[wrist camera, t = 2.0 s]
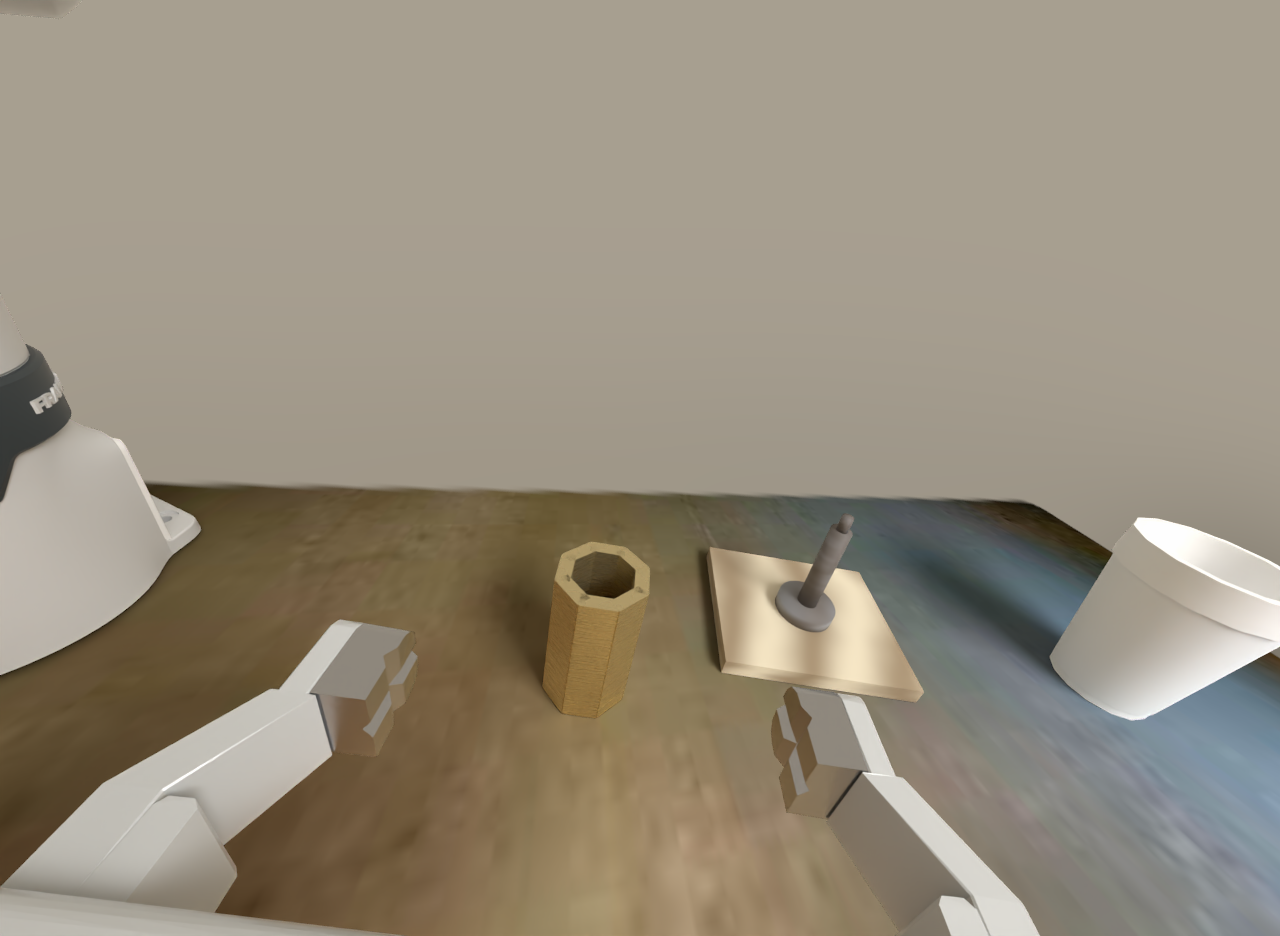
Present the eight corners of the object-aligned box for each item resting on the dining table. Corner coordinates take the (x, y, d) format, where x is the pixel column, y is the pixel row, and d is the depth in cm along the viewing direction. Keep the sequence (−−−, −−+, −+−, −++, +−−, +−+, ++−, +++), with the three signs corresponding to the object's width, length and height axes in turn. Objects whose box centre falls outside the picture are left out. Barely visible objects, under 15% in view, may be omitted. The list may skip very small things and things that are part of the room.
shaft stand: (721, 672, 31) (768, 557, 26) (706, 557, 42) (738, 458, 37) (915, 702, 32) (998, 595, 27) (853, 581, 43) (904, 488, 38)
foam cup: (1123, 656, 40) (1244, 541, 34) (1209, 760, 32) (1388, 635, 26) (1008, 621, 42) (1104, 504, 35) (1063, 713, 34) (1200, 583, 27)
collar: (536, 709, 27) (548, 600, 23) (554, 640, 31) (566, 537, 27) (620, 722, 27) (648, 616, 23) (626, 651, 32) (650, 551, 27)
